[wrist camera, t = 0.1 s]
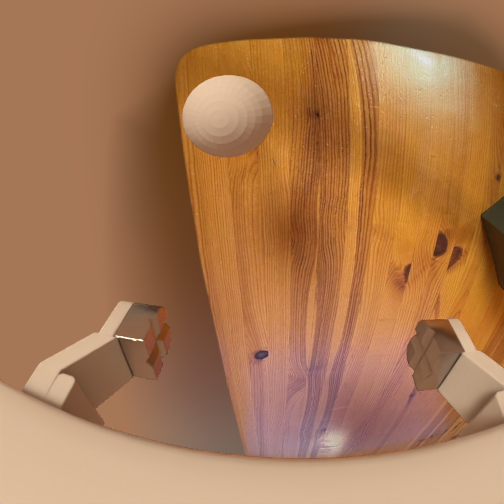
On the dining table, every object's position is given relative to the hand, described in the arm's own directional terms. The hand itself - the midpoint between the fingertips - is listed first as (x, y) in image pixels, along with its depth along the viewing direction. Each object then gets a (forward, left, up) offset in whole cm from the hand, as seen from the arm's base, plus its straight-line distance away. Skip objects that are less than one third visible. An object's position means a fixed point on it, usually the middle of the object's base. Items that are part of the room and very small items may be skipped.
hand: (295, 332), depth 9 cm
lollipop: (-5, -4, -26) cm, 27 cm away
